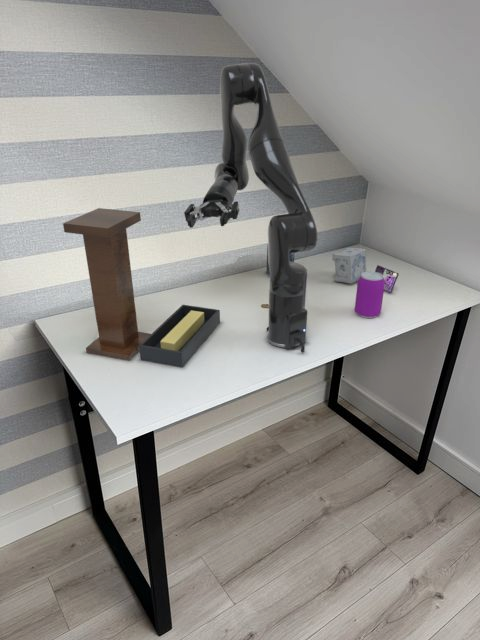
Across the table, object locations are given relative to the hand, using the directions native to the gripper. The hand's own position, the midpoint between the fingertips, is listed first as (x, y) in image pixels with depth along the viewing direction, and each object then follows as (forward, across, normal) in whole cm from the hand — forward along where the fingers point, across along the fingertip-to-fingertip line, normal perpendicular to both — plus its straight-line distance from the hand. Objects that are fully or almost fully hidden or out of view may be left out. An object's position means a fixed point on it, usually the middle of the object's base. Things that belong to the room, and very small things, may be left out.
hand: (205, 223), depth 133 cm
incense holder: (-32, +34, +38) cm, 61 cm away
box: (-34, +11, +36) cm, 50 cm away
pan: (+19, -6, +24) cm, 31 cm away
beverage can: (-7, +41, +34) cm, 54 cm away
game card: (-28, +47, +39) cm, 67 cm away
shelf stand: (+24, -21, +21) cm, 38 cm away
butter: (+18, -6, +23) cm, 30 cm away
